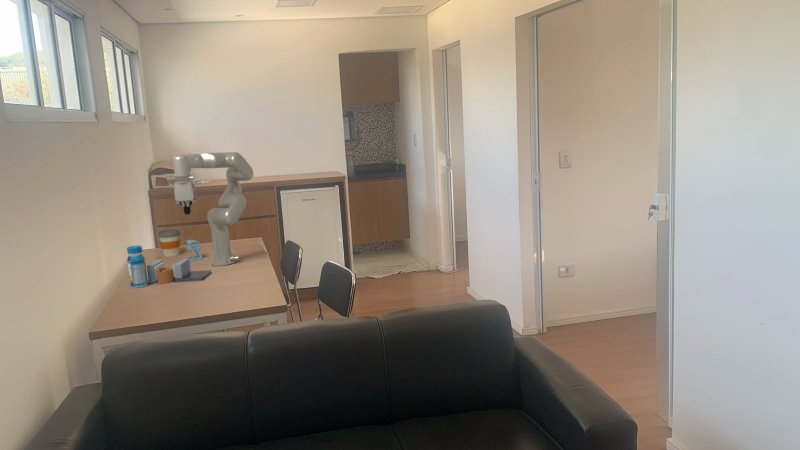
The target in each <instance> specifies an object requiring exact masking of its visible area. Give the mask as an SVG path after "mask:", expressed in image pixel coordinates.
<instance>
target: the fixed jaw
mask: <svg viewBox="0 0 800 450" xmlns="http://www.w3.org/2000/svg"><path fill="white" fill-rule="evenodd" d="M165 262H166V261H164V259H156V260H155V261H153V262H151V263H149V264H148V265H147V264H146V273H147V280H148V284H155V283H157V276H156V269H159V268H163V267H165V268H166V263H165Z"/></svg>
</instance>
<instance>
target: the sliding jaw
mask: <svg viewBox="0 0 800 450" xmlns="http://www.w3.org/2000/svg"><path fill="white" fill-rule="evenodd" d="M172 267H173V274H174V277H175V278H183V277H184V276H186V275H187V274H188V273H190V272H191V264H190V261H189V259H186V258H184V259H183V258H182V259H181V260H179V261H177V262H175V263H174V264H173V265H172Z"/></svg>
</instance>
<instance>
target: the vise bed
mask: <svg viewBox="0 0 800 450" xmlns="http://www.w3.org/2000/svg"><path fill="white" fill-rule="evenodd" d="M190 271H191V270H190ZM210 274H212V270H208V269H206V270H193V271H191V272H190V273H188V274H187V275H186V276H184V277H183V278H176V279H175V281H174V283H181V282H182V283H184V282H199V281H203V280H204V279H206V278H207V277H208V276H209V275H210Z"/></svg>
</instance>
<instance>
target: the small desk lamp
mask: <svg viewBox="0 0 800 450" xmlns="http://www.w3.org/2000/svg"><path fill="white" fill-rule="evenodd" d="M185 243H186V245H187V247H186V250H187V251H194V252H195V253H196V255H197V256H191V257H186V258H185V259H189V262H193V261H197V260H200V259H203V255H202V253H201V247H200V243H201V242H200V241H199V240H195V239H188V240H186V241H185ZM194 243H195V244H194ZM192 244H194V245H195V246H192Z"/></svg>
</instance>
